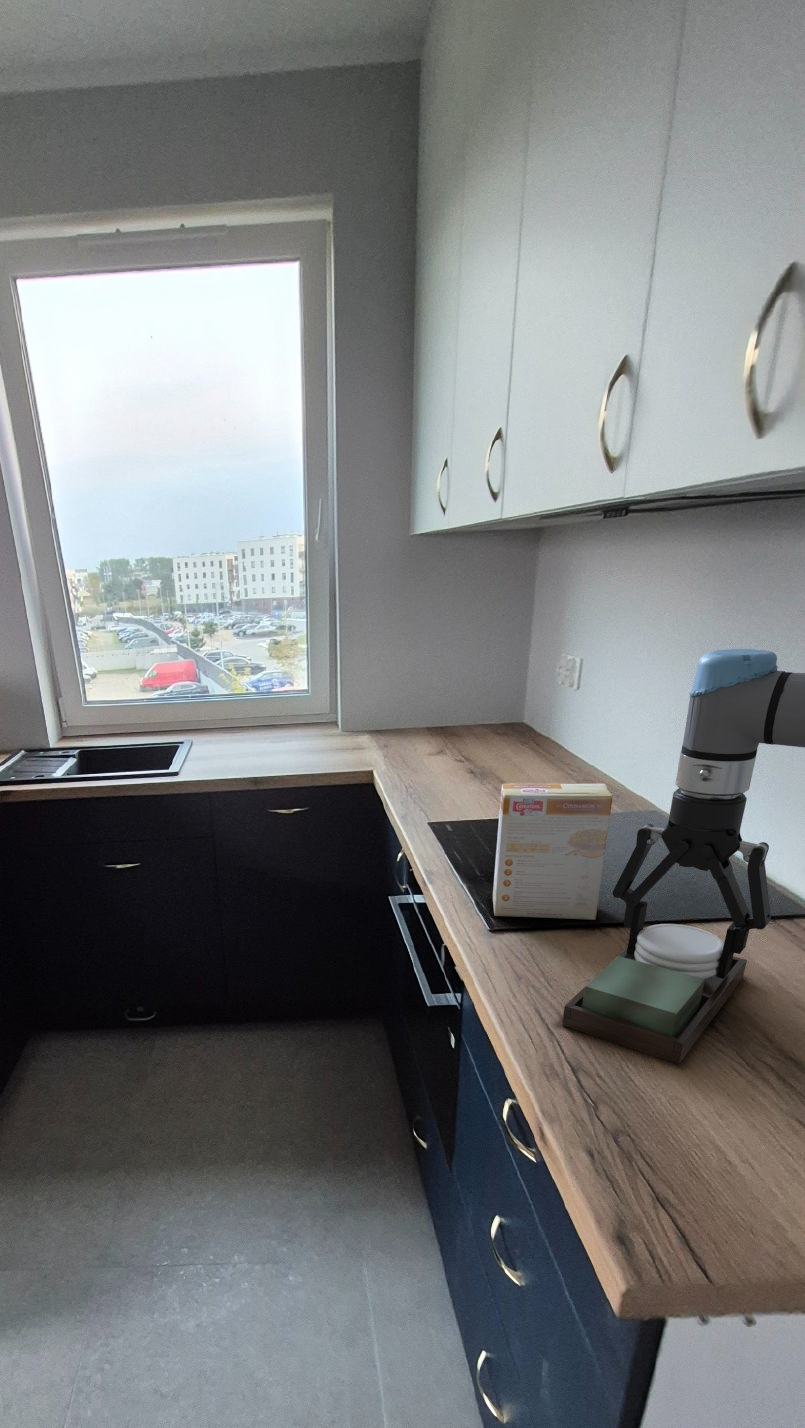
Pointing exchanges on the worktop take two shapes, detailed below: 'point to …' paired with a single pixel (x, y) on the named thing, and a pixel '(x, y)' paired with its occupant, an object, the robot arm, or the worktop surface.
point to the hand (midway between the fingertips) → (676, 961)
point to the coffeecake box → (551, 850)
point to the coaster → (680, 949)
